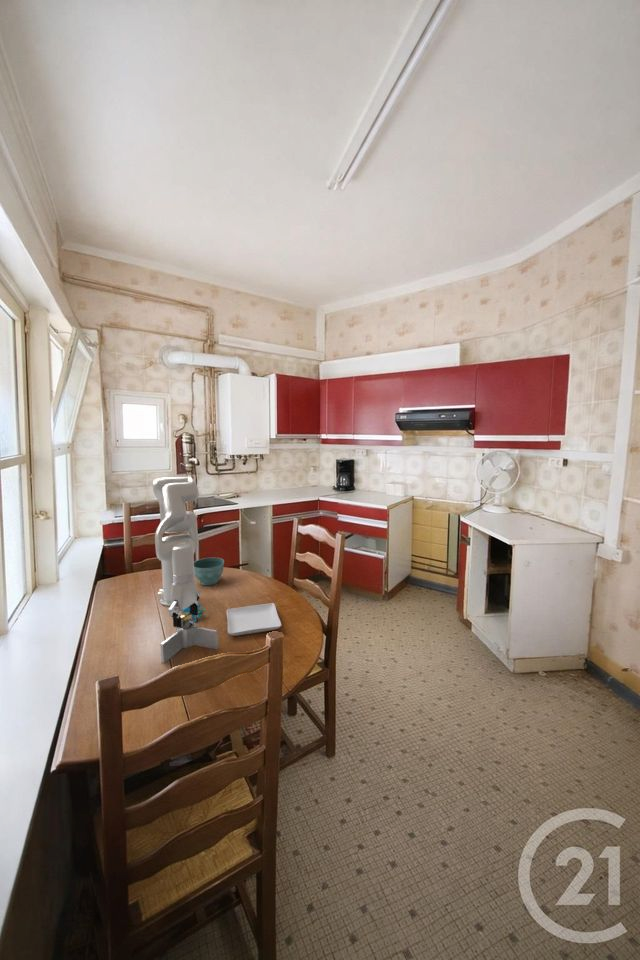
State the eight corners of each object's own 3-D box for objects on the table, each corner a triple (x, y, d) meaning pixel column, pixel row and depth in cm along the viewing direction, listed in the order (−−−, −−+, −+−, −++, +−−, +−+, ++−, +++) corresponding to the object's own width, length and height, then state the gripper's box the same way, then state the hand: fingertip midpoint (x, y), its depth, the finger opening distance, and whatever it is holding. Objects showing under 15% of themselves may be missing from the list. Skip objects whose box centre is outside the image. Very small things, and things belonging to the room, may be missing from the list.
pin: (177, 645, 142) (175, 617, 141) (185, 638, 147) (183, 611, 145) (187, 647, 141) (186, 619, 139) (195, 640, 145) (194, 613, 144)
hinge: (154, 661, 133) (153, 642, 132) (185, 636, 148) (184, 620, 147) (195, 670, 128) (194, 650, 127) (222, 644, 143) (221, 626, 142)
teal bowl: (212, 590, 192) (211, 569, 190) (186, 585, 197) (185, 565, 196) (230, 578, 207) (230, 559, 205) (206, 574, 212) (205, 556, 211)
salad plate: (228, 641, 146) (227, 632, 145) (226, 615, 166) (226, 608, 166) (282, 633, 152) (282, 625, 151) (274, 609, 172) (274, 602, 171)
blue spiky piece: (176, 622, 156) (179, 599, 162) (176, 627, 160) (178, 604, 166) (204, 622, 159) (205, 599, 166) (203, 626, 164) (204, 604, 170)
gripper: (190, 568, 150) (191, 609, 152) (159, 585, 134) (161, 630, 136) (206, 570, 148) (207, 611, 150) (176, 587, 131) (179, 633, 134)
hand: (186, 620), depth 143 cm, fingers open, 9 cm apart
